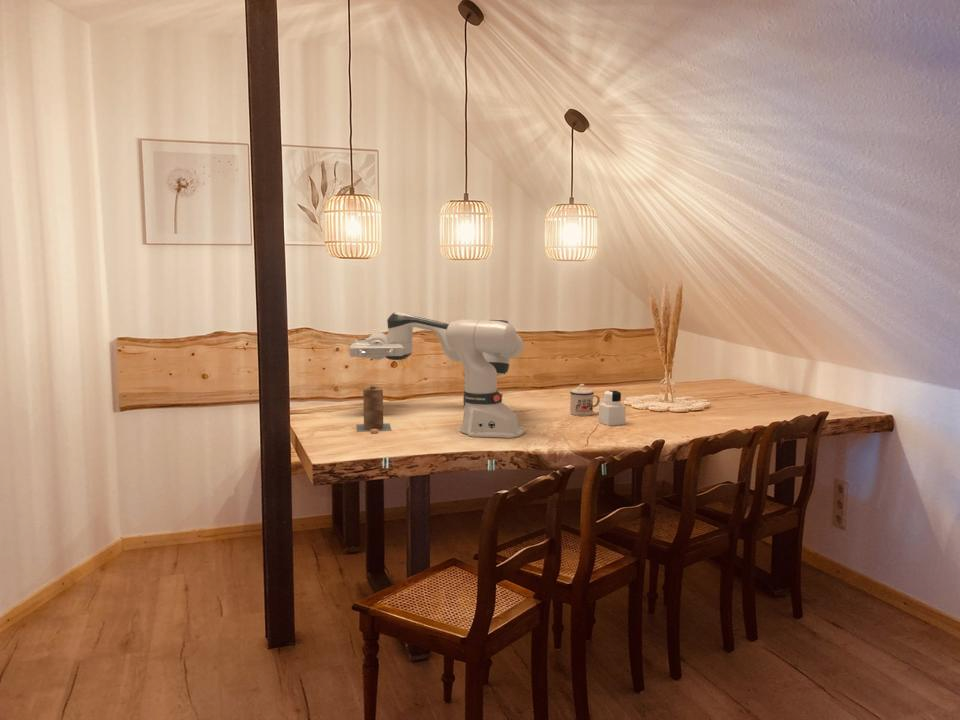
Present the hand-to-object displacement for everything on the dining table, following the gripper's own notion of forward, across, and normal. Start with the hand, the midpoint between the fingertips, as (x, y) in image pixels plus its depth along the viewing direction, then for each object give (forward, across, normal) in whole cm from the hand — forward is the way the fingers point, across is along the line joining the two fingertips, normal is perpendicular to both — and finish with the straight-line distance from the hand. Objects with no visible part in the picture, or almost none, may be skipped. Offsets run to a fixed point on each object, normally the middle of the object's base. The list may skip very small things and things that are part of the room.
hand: (375, 354), depth 301 cm
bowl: (+25, 0, -24) cm, 34 cm away
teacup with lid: (-3, -80, -25) cm, 84 cm away
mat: (+16, +1, -24) cm, 29 cm away
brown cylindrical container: (+16, +1, -24) cm, 29 cm away
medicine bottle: (+15, -86, -24) cm, 90 cm away
